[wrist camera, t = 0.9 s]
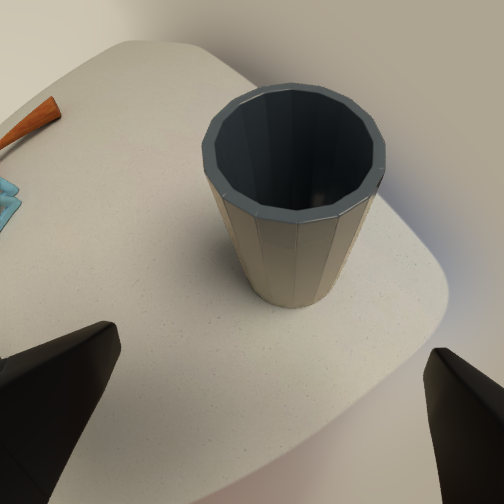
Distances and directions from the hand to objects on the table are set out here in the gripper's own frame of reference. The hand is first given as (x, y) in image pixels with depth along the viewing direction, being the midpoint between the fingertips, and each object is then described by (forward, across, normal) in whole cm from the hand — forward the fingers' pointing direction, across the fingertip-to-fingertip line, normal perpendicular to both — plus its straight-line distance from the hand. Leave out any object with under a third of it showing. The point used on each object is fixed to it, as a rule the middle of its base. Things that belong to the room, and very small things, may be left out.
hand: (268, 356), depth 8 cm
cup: (+15, 0, +3) cm, 15 cm away
